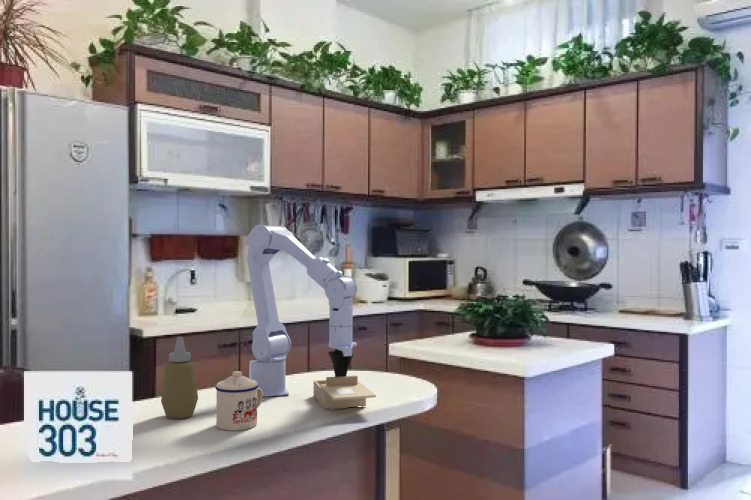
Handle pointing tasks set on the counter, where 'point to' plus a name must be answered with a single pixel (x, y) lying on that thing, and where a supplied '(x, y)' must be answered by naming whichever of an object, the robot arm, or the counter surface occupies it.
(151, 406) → the counter surface
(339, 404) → the box
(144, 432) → the counter surface
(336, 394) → the lid
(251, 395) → the teacup with lid
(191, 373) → the squeeze bottle
